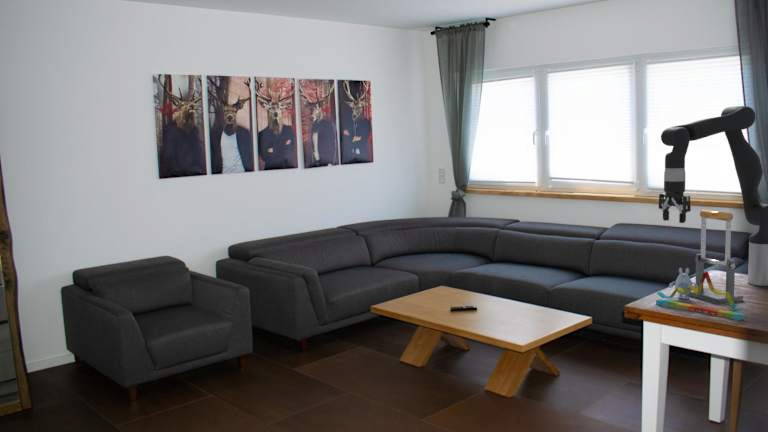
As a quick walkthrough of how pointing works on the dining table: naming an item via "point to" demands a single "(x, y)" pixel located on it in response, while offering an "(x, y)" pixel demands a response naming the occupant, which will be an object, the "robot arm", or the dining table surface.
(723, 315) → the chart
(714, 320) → the dining table surface
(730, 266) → the lever stand
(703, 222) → the lever
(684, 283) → the toy figure
